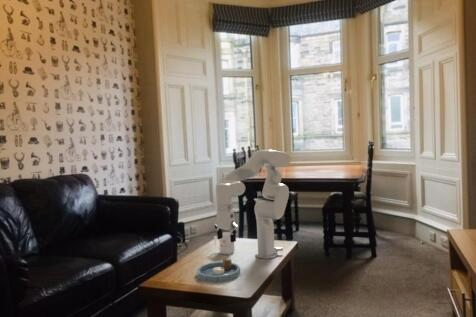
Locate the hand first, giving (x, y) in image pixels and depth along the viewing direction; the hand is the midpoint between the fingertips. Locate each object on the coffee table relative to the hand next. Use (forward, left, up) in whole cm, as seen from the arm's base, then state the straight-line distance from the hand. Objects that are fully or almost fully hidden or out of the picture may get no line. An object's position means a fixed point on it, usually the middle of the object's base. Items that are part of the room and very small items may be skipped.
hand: (226, 240), depth 208 cm
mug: (-5, -31, -16) cm, 35 cm away
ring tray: (+6, +3, -16) cm, 17 cm away
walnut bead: (0, 0, -15) cm, 15 cm away
